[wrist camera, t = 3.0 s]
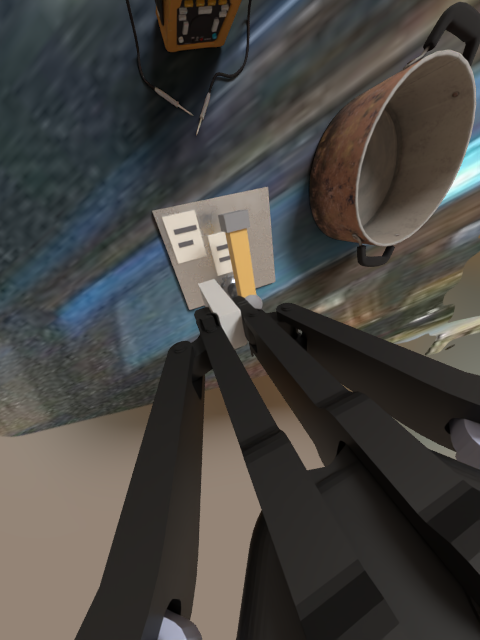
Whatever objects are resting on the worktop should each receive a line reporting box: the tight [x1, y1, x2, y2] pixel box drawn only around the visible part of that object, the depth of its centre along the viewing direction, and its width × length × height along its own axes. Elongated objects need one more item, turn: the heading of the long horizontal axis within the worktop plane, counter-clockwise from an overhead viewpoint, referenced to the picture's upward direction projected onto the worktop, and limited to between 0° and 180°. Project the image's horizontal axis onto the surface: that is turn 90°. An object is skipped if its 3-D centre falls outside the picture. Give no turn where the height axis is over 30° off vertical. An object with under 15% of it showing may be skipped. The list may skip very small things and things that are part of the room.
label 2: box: [207, 232, 233, 276], centre depth 34 cm, size 5×7×1 cm
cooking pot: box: [309, 2, 480, 267], centre depth 33 cm, size 30×22×11 cm
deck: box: [152, 187, 275, 310], centre depth 32 cm, size 19×18×7 cm
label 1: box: [162, 210, 207, 264], centre depth 30 cm, size 5×7×1 cm
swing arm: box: [218, 210, 262, 309], centre depth 28 cm, size 16×4×3 cm, turn 11°
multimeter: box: [126, 0, 251, 135], centre depth 16 cm, size 15×10×20 cm
